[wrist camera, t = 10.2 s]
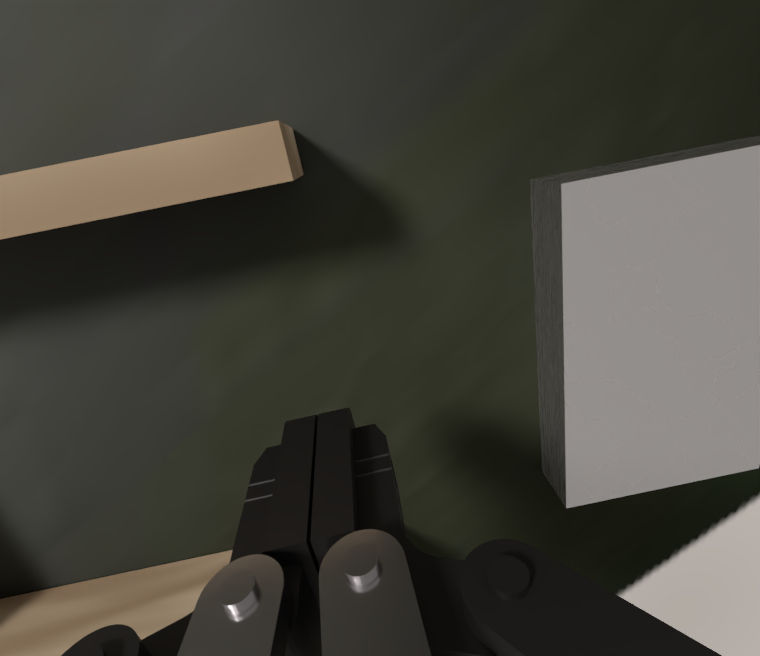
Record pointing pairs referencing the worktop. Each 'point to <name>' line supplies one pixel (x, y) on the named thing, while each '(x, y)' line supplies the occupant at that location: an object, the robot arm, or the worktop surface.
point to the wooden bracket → (99, 201)
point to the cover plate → (648, 321)
